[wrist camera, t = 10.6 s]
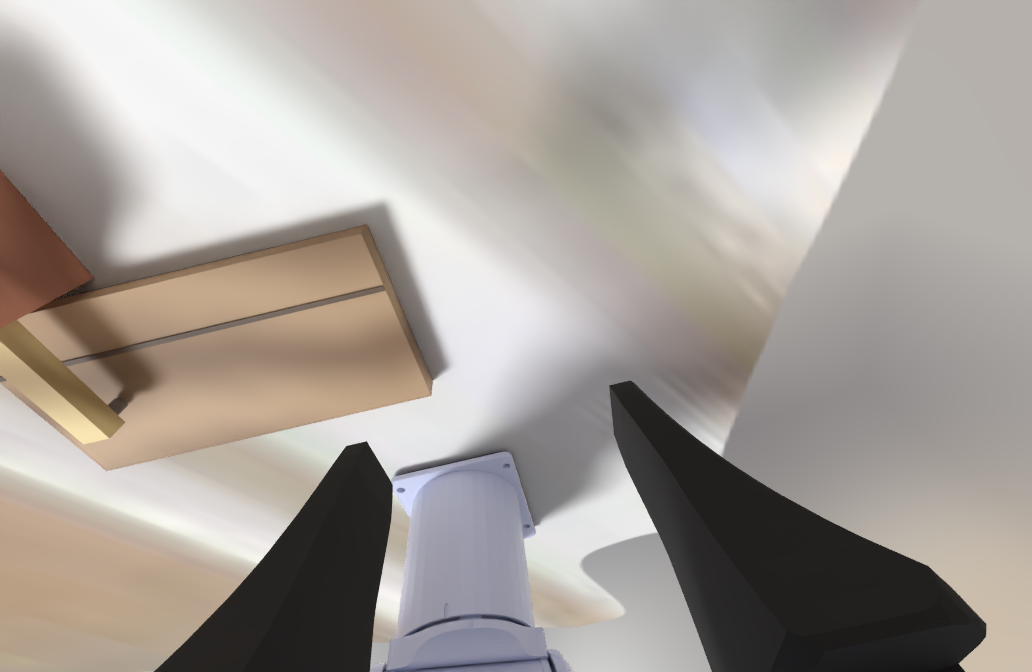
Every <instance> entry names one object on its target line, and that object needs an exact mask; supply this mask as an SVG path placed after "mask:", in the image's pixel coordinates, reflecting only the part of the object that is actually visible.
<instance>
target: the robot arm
mask: <svg viewBox="0 0 1032 672" xmlns="http://www.w3.org/2000/svg"><path fill="white" fill-rule="evenodd" d="M609 387H610V397H611V407H612V417H613V427H614V435H615V438H616V441H617V444H618V447H619V449H620V452H621V455H622V458H623V460H624V463H625V466H626V468H627V470H628V472H629V474H630V476H631V478H632V480H633V482H634V485H635V487H636V489H637V491H638V493H639V495H640V497H641V499H642V501H643V503H644V505H645V507H646V509H647V511H648V513H649V515H650V517H651V519H652V521H653V523H654V525H655V527H656V529H657V531H658V533H659V535H660V537H661V540H662V542H663V544H664V546H665V549H666V551H667V553H668V555H669V558H670V560H671V563H672V566H673V568H674V571H675V573H676V576H677V579H678V581H679V584H680V586H681V589H682V592H683V594H684V597H685V599H686V602H687V605H688V607H689V610H690V613H691V615H692V618H693V621H694V624H695V626H696V629H697V631H698V634H699V637H700V640H701V643H702V645H703V648H704V651H705V654H706V656H707V659H708V662H709V665H710V667H711V670H712V672H965V671H964V670H963V669H962V667H961V666H960V665H959V664H958V663H960V662H961V661H962V660H963V659H964V658H965V657H966V656H967V655H968V654H969V653H971V652H972V651H973V650H974V649H975V648H976V647H977V646H978V645H979V644H980V643H981V642H982V641H983V639H984V638H985V637H986V623H985V622H984V621H983V620H982V619H981V618H980V617H979V616H978V615H977V614H976V613H975V612H974V611H973V610H972V609H971V608H970V607H969V606H968V605H967V603H966V602H965V601H964V600H963V599H962V598H961V597H960V596H959V595H958V594H957V593H956V592H955V591H954V590H953V589H952V588H951V587H950V586H949V585H948V584H947V583H946V582H945V581H944V580H942V579H941V578H940V577H939V576H938V575H937V574H936V573H935V572H934V571H933V570H932V569H931V568H930V567H929V566H927V565H924V564H922V563H920V562H917V561H915V560H913V559H911V558H908V557H906V556H904V555H901V554H899V553H897V552H895V551H892V550H890V549H887V548H886V547H883V546H881V545H879V544H876V543H874V542H872V541H870V540H867V539H865V538H863V537H861V536H859V535H856V534H854V533H852V532H850V531H848V530H846V529H844V528H842V527H840V526H838V525H836V524H834V523H832V522H830V521H828V520H826V519H824V518H822V517H821V516H819V515H817V514H815V513H813V512H811V511H809V510H808V509H806V508H804V507H802V506H800V505H798V504H797V503H795V502H793V501H791V500H789V499H788V498H786V497H784V496H782V495H780V494H779V493H777V492H775V491H773V490H772V489H770V488H768V487H767V486H765V485H764V484H762V483H760V482H758V481H757V480H755V479H754V478H752V477H751V476H749V475H748V474H746V473H745V472H743V471H742V470H740V469H738V468H737V467H735V466H734V465H732V464H731V463H730V462H728V461H727V460H725V459H724V458H722V457H721V456H720V455H718V454H717V453H715V452H714V451H713V450H711V449H710V448H709V447H707V446H706V445H705V444H703V443H702V442H701V441H699V440H698V439H697V438H695V437H694V436H693V435H692V434H690V433H689V432H688V431H687V430H686V429H684V428H683V427H682V426H681V425H679V424H678V423H677V422H676V421H675V420H673V419H672V418H671V417H670V416H669V415H668V414H666V413H665V412H664V411H663V410H662V409H661V408H660V407H659V406H658V405H656V404H655V403H654V402H653V401H652V400H651V399H650V398H649V397H648V396H647V395H646V394H645V393H644V392H643V391H642V390H641V389H640V388H639V387H638V386H637V385H636V384H635V383H633V382H632V381H627V382H622V383H618V384H614V385H609ZM507 463H508V464H507ZM393 491H394V493H395V494H396V496H397V498H398V499H399V501H400V503H401V504H402V506H403V507H404V509H405V511H406V512H407V514H408V516H409V517H410V527H409V535H408V543H407V551H406V560H405V568H404V576H403V584H402V593H401V601H400V609H399V617H398V625H397V634H396V638H392V639H391V640H390V646H389V654H388V661H387V664H386V663H377V664H374V665H373V666H372V667H371V669H370V660H371V649H372V637H373V626H374V617H375V609H376V602H377V597H378V591H379V586H380V580H381V575H382V569H383V563H384V558H385V552H386V547H387V541H388V535H389V530H390V523H391V514H392V493H393ZM535 533H536V531H535V526H534V523H533V520H532V517H531V514H530V511H529V508H528V504H527V501H526V498H525V495H524V492H523V489H522V486H521V482H520V479H519V476H518V473H517V470H516V467H515V463H514V460H513V457H512V455H511V453H509V452H506V451H505V452H499V453H495V454H491V455H486V456H482V457H477V458H473V459H469V460H464V461H460V462H456V463H451V464H447V465H442V466H438V467H434V468H429V469H425V470H421V471H416V472H412V473H407V474H403V475H399V476H395V477H393V478H392V479H391V481H390V479H389V478H388V476H387V474H386V473H385V471H384V469H383V468H382V466H381V464H380V463H379V461H378V459H377V458H376V456H375V454H374V453H373V451H372V449H371V448H370V446H369V445H368V443H367V441H366V442H362V443H358V444H353V445H349V446H346V447H345V449H344V450H343V451H342V453H341V454H340V456H339V457H338V458H337V460H336V461H335V463H334V464H333V465H332V467H331V468H330V470H329V471H328V472H327V474H326V475H325V477H324V478H323V480H322V481H321V482H320V484H319V485H318V487H317V488H316V490H315V491H314V492H313V494H312V495H311V496H310V498H309V499H308V501H307V502H306V503H305V505H304V506H303V508H302V509H301V510H300V512H299V513H298V514H297V516H296V517H295V518H294V520H293V521H292V522H291V523H290V525H289V526H288V527H287V529H286V530H285V531H284V532H283V534H282V535H281V536H280V538H279V539H278V540H277V541H276V543H275V544H274V545H273V547H272V548H271V549H270V550H269V552H268V553H267V554H266V555H265V557H264V558H263V559H262V560H261V561H260V563H259V564H258V565H257V566H256V567H255V568H254V570H253V571H252V572H251V573H250V574H249V575H248V576H247V578H246V579H245V580H244V581H243V582H242V583H241V584H240V585H239V587H238V588H237V589H236V590H235V591H234V592H233V593H232V594H231V595H230V597H229V598H228V599H227V600H226V601H225V602H224V603H223V604H222V605H221V606H220V607H219V608H218V609H217V610H216V611H215V612H214V613H213V614H212V615H211V616H210V617H209V618H208V619H207V620H206V621H205V622H204V623H203V624H202V625H201V627H200V628H199V629H198V630H197V631H196V632H195V633H194V634H193V635H192V636H191V637H190V638H189V639H188V640H187V641H186V642H185V643H184V644H183V645H182V646H181V647H180V648H179V649H177V650H176V651H175V652H174V653H173V654H172V655H171V656H170V657H169V658H168V659H167V660H166V661H165V662H164V663H163V664H162V665H161V666H160V667H159V668H157V669H156V670H155V671H154V672H574V671H573V669H572V668H571V666H570V665H569V664H568V663H567V661H566V660H565V659H564V658H563V656H562V654H561V653H560V652H559V651H558V650H556V649H546V641H545V635H544V628H542V627H535V624H534V616H533V609H532V601H531V593H530V585H529V578H528V570H527V562H526V555H525V547H524V538H529V537H532V536H534V535H535Z"/></svg>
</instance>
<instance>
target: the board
mask: <svg viewBox="0 0 1032 672" xmlns="http://www.w3.org/2000/svg"><path fill="white" fill-rule="evenodd" d="M17 320H18V321H19V322H20V323H21V324H22V325H23V326H24V327H25V328H26V329H27V330H28V331H29V332H30V333H31V334H33V335H34V336H35V337H36V338H37V339H38V340H39V341H40V342H41V343H42V344H43V345H44V346H45V347H46V348H47V349H48V350H49V351H51V352H52V353H53V354H54V355H55V356H56V357H57V358H58V359H59V360H60V361H61V362H62V363H63V364H64V365H65V366H66V367H67V368H69V369H70V370H71V371H72V372H73V373H74V374H75V375H76V376H77V377H78V378H79V379H80V380H81V381H82V382H83V383H84V384H86V385H87V386H88V387H89V388H90V389H91V390H92V391H93V392H94V393H95V394H96V395H97V396H98V397H99V398H100V399H101V400H102V401H104V402H105V403H106V404H107V405H108V404H109V403H110V402H111V401H112V400H114V399H115V398H121V399H124V400H125V401H127V403H128V406H127V407H126V408H125V409H124V410H123V411H122V412H121V413H120V414H119V415H118V416H119V417H120V418H122V419H123V420H124V421H125V423H124V424H123V425H122V426H121V427H120V428H119V430H118V431H117V432H116V433H115V434H114V435H113V436H112V437H111V438H110V439H105V440H101V441H97V442H93V443H88V444H82V443H81V442H80V441H79V440H78V439H76V438H75V437H74V436H73V435H72V434H70V433H69V432H68V431H67V430H66V429H65V428H63V427H62V426H61V425H60V424H59V423H57V422H56V421H55V420H54V419H53V418H51V417H50V416H49V415H48V414H47V413H45V412H44V411H43V410H42V409H41V408H39V407H38V406H37V405H36V404H35V403H33V402H32V401H31V400H30V399H29V398H27V397H26V396H25V395H24V394H23V393H21V392H20V391H19V390H18V389H17V388H16V387H14V386H13V385H12V384H11V383H10V382H8V381H7V380H6V379H5V378H4V377H2V376H1V375H0V383H1V384H2V385H3V386H4V387H6V388H7V389H8V390H9V391H10V392H12V393H13V394H14V395H15V396H17V397H18V398H19V399H20V400H21V401H23V402H24V403H25V404H26V405H27V406H29V407H30V408H31V409H32V410H33V411H35V412H36V413H37V414H38V415H39V416H41V417H42V418H43V419H44V420H45V421H47V422H48V423H49V424H50V425H52V426H53V427H54V428H55V429H56V430H58V431H59V432H60V433H61V434H62V435H64V436H65V437H66V438H67V439H68V440H70V441H71V442H72V443H73V444H74V445H76V446H77V447H78V448H79V449H80V450H82V451H83V452H84V453H85V454H86V455H88V456H89V457H90V458H91V459H93V460H94V461H95V462H96V463H97V464H99V465H100V466H101V467H102V468H103V469H105V470H106V471H109V470H114V469H118V468H122V467H126V466H131V465H135V464H139V463H144V462H148V461H152V460H157V459H161V458H165V457H170V456H174V455H178V454H182V453H187V452H191V451H195V450H200V449H204V448H208V447H213V446H217V445H221V444H226V443H230V442H234V441H238V440H243V439H247V438H251V437H256V436H260V435H264V434H269V433H273V432H277V431H282V430H286V429H290V428H294V427H299V426H303V425H307V424H312V423H316V422H320V421H325V420H329V419H333V418H338V417H342V416H346V415H350V414H355V413H359V412H363V411H368V410H372V409H376V408H381V407H385V406H389V405H394V404H398V403H402V402H406V401H411V400H415V399H419V398H424V397H428V396H431V393H432V383H433V381H432V379H431V376H430V374H429V372H428V369H427V367H426V364H425V362H424V360H423V357H422V355H421V352H420V350H419V348H418V345H417V343H416V340H415V338H414V336H413V333H412V331H411V328H410V326H409V324H408V321H407V319H406V317H405V314H404V312H403V309H402V307H401V305H400V302H399V300H398V297H397V295H396V293H395V290H394V288H393V285H392V283H391V281H390V278H389V276H388V274H387V271H386V269H385V266H384V264H383V262H382V259H381V257H380V254H379V252H378V250H377V247H376V245H375V242H374V240H373V238H372V235H371V233H370V231H369V228H368V226H367V225H364V226H360V227H356V228H352V229H347V230H343V231H339V232H335V233H331V234H327V235H323V236H318V237H314V238H310V239H306V240H302V241H298V242H294V243H289V244H285V245H281V246H277V247H273V248H269V249H265V250H260V251H256V252H252V253H248V254H244V255H240V256H235V257H231V258H227V259H223V260H219V261H215V262H211V263H206V264H202V265H198V266H194V267H190V268H186V269H182V270H177V271H173V272H169V273H165V274H161V275H157V276H153V277H148V278H144V279H140V280H136V281H132V282H128V283H123V284H119V285H115V286H111V287H107V288H103V289H99V290H94V291H90V292H86V293H82V294H78V295H74V296H70V297H65V298H61V299H57V300H53V301H51V302H49V303H47V304H45V305H43V306H41V307H40V308H38V309H36V310H34V311H32V312H30V313H29V314H27V315H25V316H23V317H21V318H19V319H17Z"/></svg>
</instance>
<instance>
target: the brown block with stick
mask: <svg viewBox="0 0 1032 672" xmlns="http://www.w3.org/2000/svg"><path fill="white" fill-rule="evenodd" d="M93 278H94V277H93V276H92V275H91V274H90V273H89V271H88V270H87V269H86V268H85V267H84V266H83V265H82V263H81V262H80V261H79V260H78V259H77V258H76V256H75V255H74V254H73V253H72V252H71V251H70V250H69V248H68V247H67V246H66V245H65V244H64V243H63V242H62V240H61V239H60V238H59V237H58V236H57V235H56V233H55V232H54V231H53V230H52V229H51V228H50V227H49V225H48V224H47V223H46V222H45V221H44V220H43V219H42V217H41V216H40V215H39V214H38V213H37V212H36V210H35V209H34V208H33V207H32V206H31V205H30V204H29V202H28V201H27V200H26V199H25V198H24V197H23V195H22V194H21V193H20V192H19V191H18V190H17V189H16V187H15V186H14V185H13V184H12V183H11V182H10V181H9V179H8V178H7V177H6V176H5V175H4V174H3V172H2V171H1V170H0V375H1V376H2V377H4V378H5V379H6V380H7V381H8V382H10V383H11V384H12V385H13V386H14V387H16V388H17V389H18V390H19V391H20V392H21V393H23V394H24V395H25V396H26V397H27V398H29V399H30V400H31V401H32V402H33V403H35V404H36V405H37V406H38V407H39V408H41V409H42V410H43V411H44V412H45V413H47V414H48V415H49V416H50V417H51V418H53V419H54V420H55V421H56V422H57V423H59V424H60V425H61V426H62V427H63V428H65V429H66V430H67V431H68V432H69V433H70V434H72V435H73V436H74V437H75V438H76V439H78V440H79V441H80V442H81V443H82V444H88V443H93V442H97V441H101V440H105V439H110V438H111V437H112V436H113V435H114V434H115V433H116V432H117V431H118V430H119V428H120V427H121V426H122V425H123V424H124V423H125V421H124V420H123V419H122V418H120V417H119V416H118V415H119V414H120V413H121V412H122V411H123V410H124V409H125V408H126V407H127V406H128V403H127V401H125V400H124V399H121V398H115V399H114V400H112V401H111V402H110V403H109V404H108V405H107V404H106V403H105V402H104V401H102V400H101V399H100V398H99V397H98V396H97V395H96V394H95V393H94V392H93V391H92V390H91V389H90V388H89V387H88V386H87V385H86V384H84V383H83V382H82V381H81V380H80V379H79V378H78V377H77V376H76V375H75V374H74V373H73V372H72V371H71V370H70V369H69V368H67V367H66V366H65V365H64V364H63V363H62V362H61V361H60V360H59V359H58V358H57V357H56V356H55V355H54V354H53V353H52V352H51V351H49V350H48V349H47V348H46V347H45V346H44V345H43V344H42V343H41V342H40V341H39V340H38V339H37V338H36V337H35V336H34V335H33V334H31V333H30V332H29V331H28V330H27V329H26V328H25V327H24V326H23V325H22V324H21V323H20V322H19V321H18V320H17V319H19V318H21V317H23V316H25V315H27V314H29V313H30V312H32V311H34V310H36V309H38V308H40V307H41V306H43V305H45V304H47V303H49V302H51V301H52V300H54V299H56V298H58V297H60V296H62V295H64V294H65V293H67V292H69V291H71V290H73V289H75V288H76V287H78V286H80V285H82V284H84V283H86V282H88V281H89V280H91V279H93Z"/></svg>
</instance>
